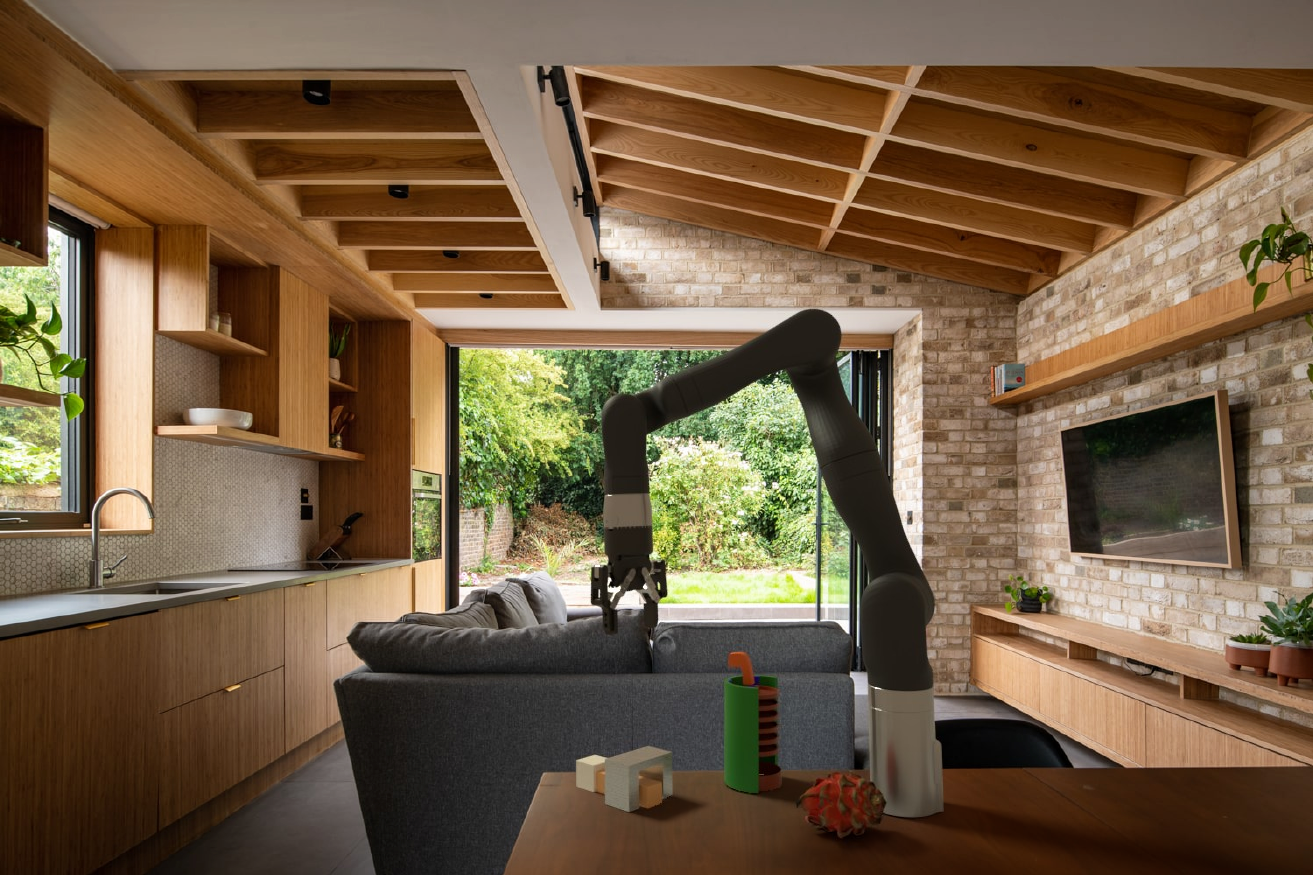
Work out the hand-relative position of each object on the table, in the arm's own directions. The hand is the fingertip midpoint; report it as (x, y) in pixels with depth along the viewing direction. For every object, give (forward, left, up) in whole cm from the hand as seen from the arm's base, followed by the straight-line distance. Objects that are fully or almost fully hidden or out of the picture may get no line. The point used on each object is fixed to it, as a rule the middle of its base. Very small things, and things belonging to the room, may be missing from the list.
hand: (631, 630), depth 130 cm
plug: (+2, -1, -25) cm, 25 cm away
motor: (-19, -3, -25) cm, 31 cm away
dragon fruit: (-26, +18, -25) cm, 40 cm away
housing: (-1, +2, -24) cm, 25 cm away
